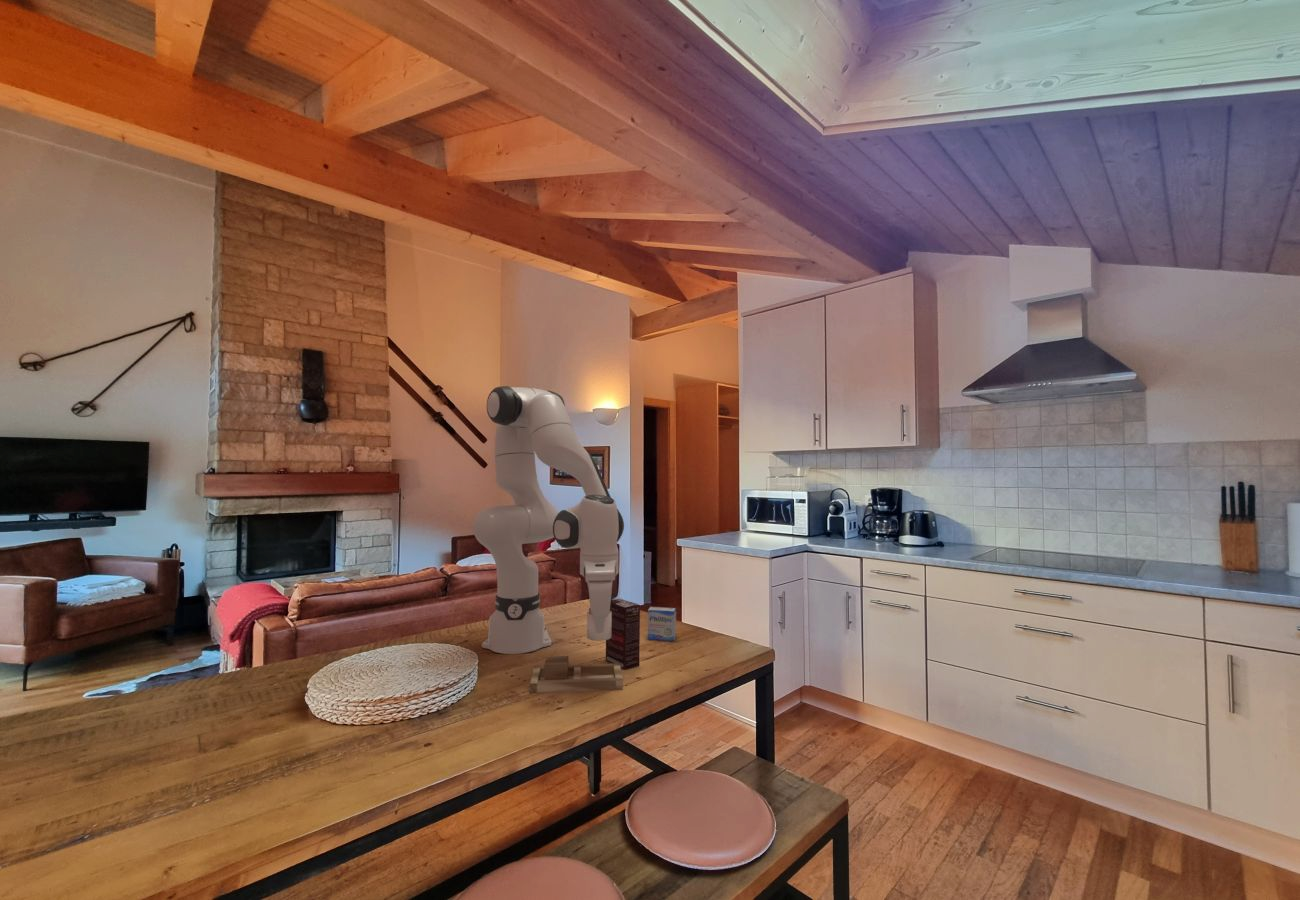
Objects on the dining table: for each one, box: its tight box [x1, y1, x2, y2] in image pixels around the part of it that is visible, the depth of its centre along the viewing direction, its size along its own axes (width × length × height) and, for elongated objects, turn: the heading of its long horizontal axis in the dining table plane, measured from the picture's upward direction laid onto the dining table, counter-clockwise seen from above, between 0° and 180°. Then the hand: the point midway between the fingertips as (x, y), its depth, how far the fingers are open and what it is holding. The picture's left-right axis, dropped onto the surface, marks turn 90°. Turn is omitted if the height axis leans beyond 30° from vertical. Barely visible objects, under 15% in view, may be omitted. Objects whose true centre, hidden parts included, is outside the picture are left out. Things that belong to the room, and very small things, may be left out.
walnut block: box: [544, 655, 569, 680], centre depth 119 cm, size 5×5×5 cm
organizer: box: [529, 663, 624, 694], centre depth 119 cm, size 10×20×3 cm, turn 97°
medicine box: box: [647, 606, 677, 642], centre depth 154 cm, size 8×4×9 cm, turn 81°
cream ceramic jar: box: [586, 607, 612, 642], centre depth 120 cm, size 6×6×6 cm
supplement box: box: [605, 598, 641, 671], centre depth 132 cm, size 9×5×16 cm, turn 39°
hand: (599, 627), depth 120 cm, fingers closed on cream ceramic jar, 6 cm apart
